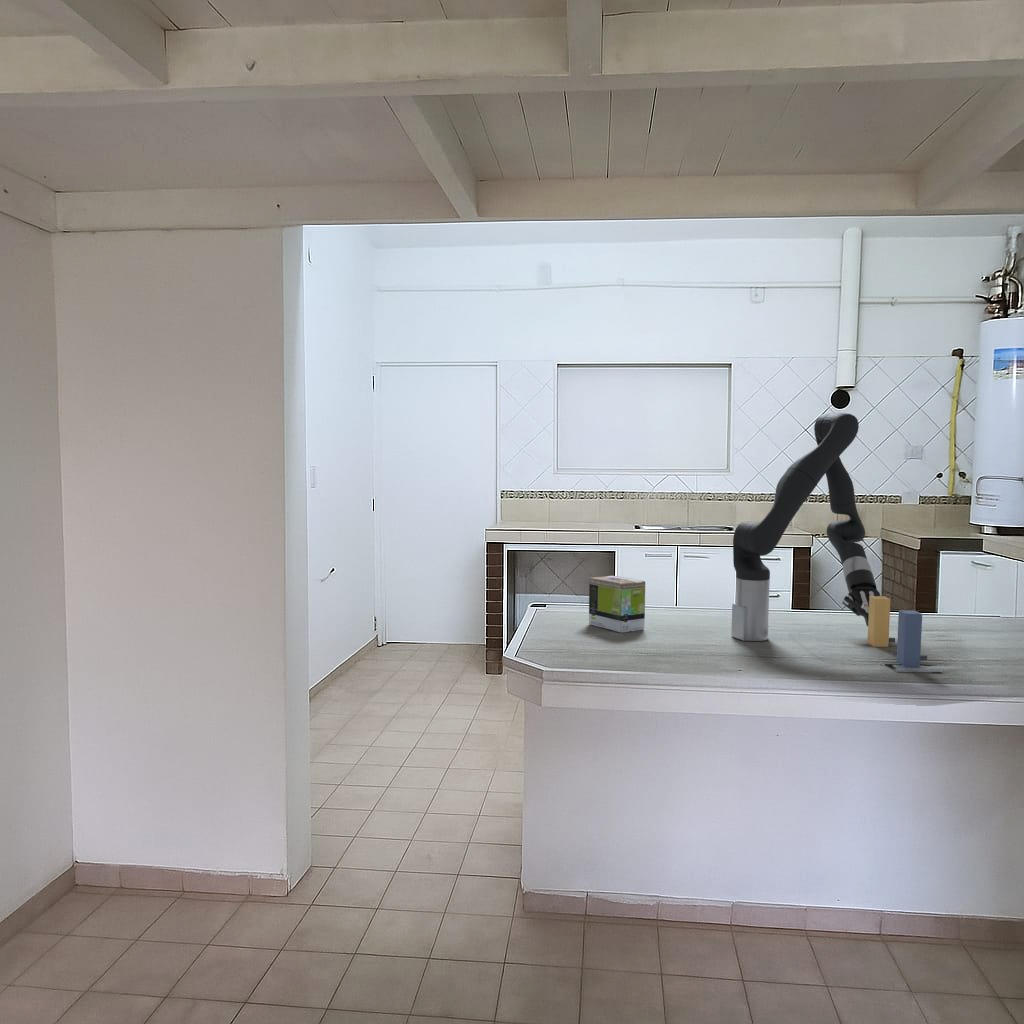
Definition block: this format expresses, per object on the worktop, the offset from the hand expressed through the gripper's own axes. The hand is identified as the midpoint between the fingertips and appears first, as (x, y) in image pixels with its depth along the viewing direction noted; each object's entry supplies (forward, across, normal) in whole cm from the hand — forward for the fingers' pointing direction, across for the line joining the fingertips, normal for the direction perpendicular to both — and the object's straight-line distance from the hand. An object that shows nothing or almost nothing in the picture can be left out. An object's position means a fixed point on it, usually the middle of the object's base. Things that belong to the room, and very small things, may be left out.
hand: (873, 627), depth 230 cm
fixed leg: (+19, +1, -13) cm, 23 cm away
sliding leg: (+5, +1, 0) cm, 6 cm away
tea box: (-10, -68, +18) cm, 72 cm away
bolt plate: (+13, +1, -6) cm, 15 cm away
